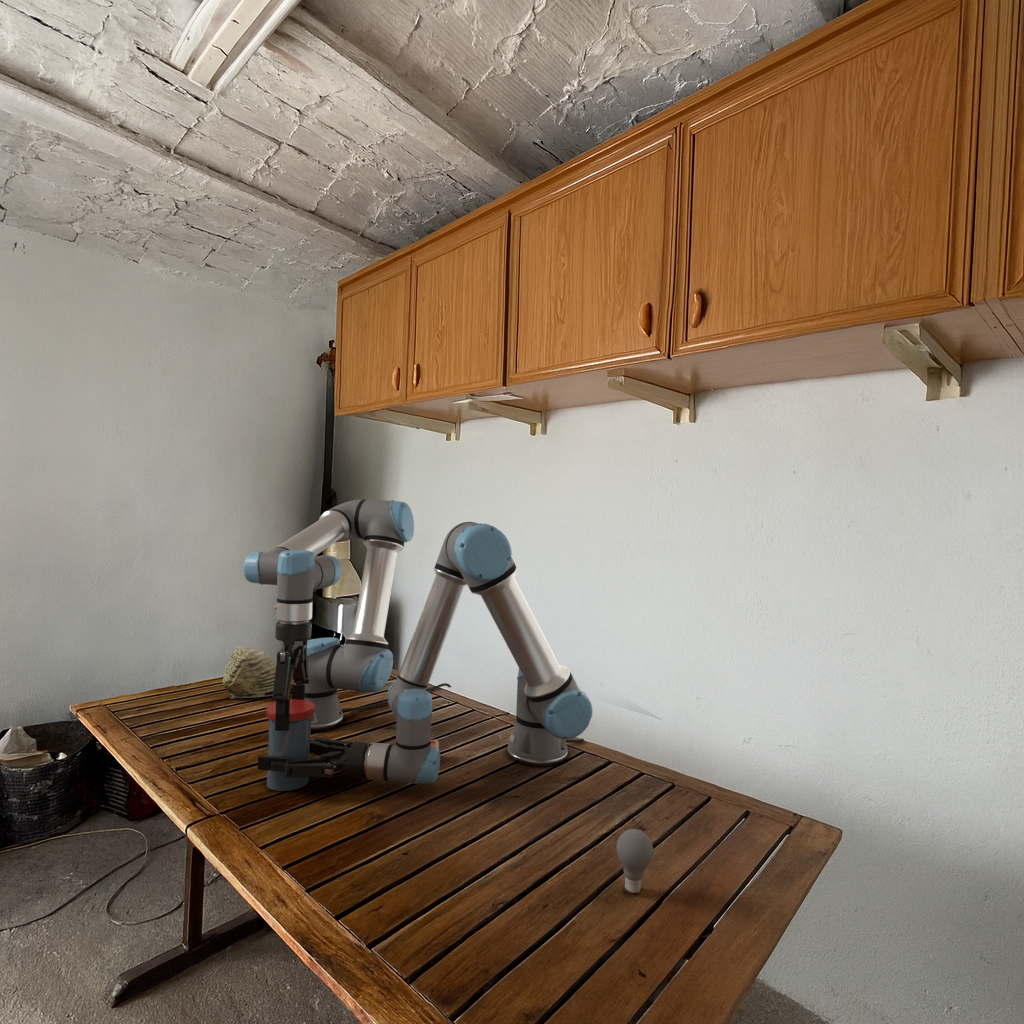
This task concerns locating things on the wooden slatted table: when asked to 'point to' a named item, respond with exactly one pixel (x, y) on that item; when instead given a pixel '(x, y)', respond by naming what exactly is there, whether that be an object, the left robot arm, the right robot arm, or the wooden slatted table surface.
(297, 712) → the lid
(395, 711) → the right robot arm
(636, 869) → the light bulb
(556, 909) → the wooden slatted table surface
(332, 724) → the left robot arm
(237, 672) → the fossil
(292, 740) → the jar
